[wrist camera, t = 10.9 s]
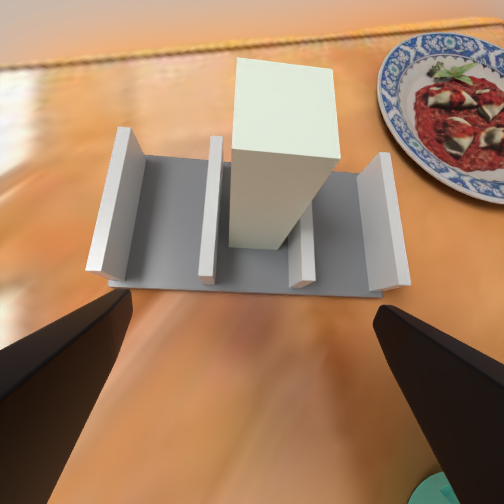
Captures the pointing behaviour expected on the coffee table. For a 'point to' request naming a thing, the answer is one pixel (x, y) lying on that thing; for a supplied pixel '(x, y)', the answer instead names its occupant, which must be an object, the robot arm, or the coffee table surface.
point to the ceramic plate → (448, 109)
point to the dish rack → (217, 231)
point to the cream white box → (278, 148)
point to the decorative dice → (434, 491)
